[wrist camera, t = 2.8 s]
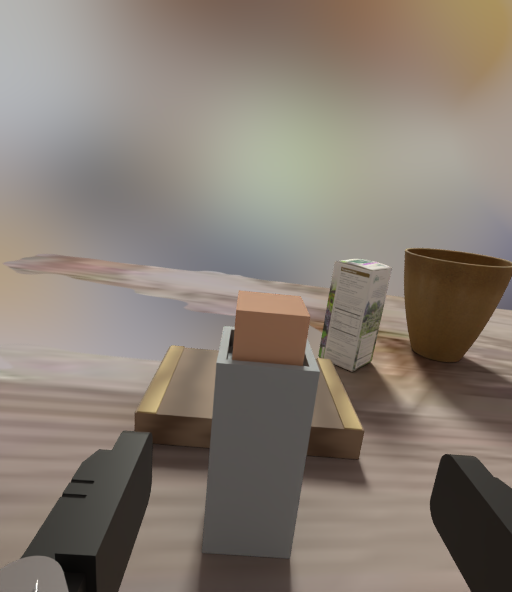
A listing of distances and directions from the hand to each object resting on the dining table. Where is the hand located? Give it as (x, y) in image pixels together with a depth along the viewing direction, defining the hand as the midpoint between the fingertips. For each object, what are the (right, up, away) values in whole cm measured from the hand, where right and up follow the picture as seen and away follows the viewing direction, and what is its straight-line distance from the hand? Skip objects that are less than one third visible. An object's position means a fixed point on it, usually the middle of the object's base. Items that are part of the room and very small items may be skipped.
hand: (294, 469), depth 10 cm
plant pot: (+28, -5, +50) cm, 57 cm away
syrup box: (+12, -5, +43) cm, 45 cm away
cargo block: (-1, +1, +13) cm, 13 cm away
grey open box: (-2, -11, +16) cm, 19 cm away
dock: (-2, -7, +29) cm, 30 cm away
